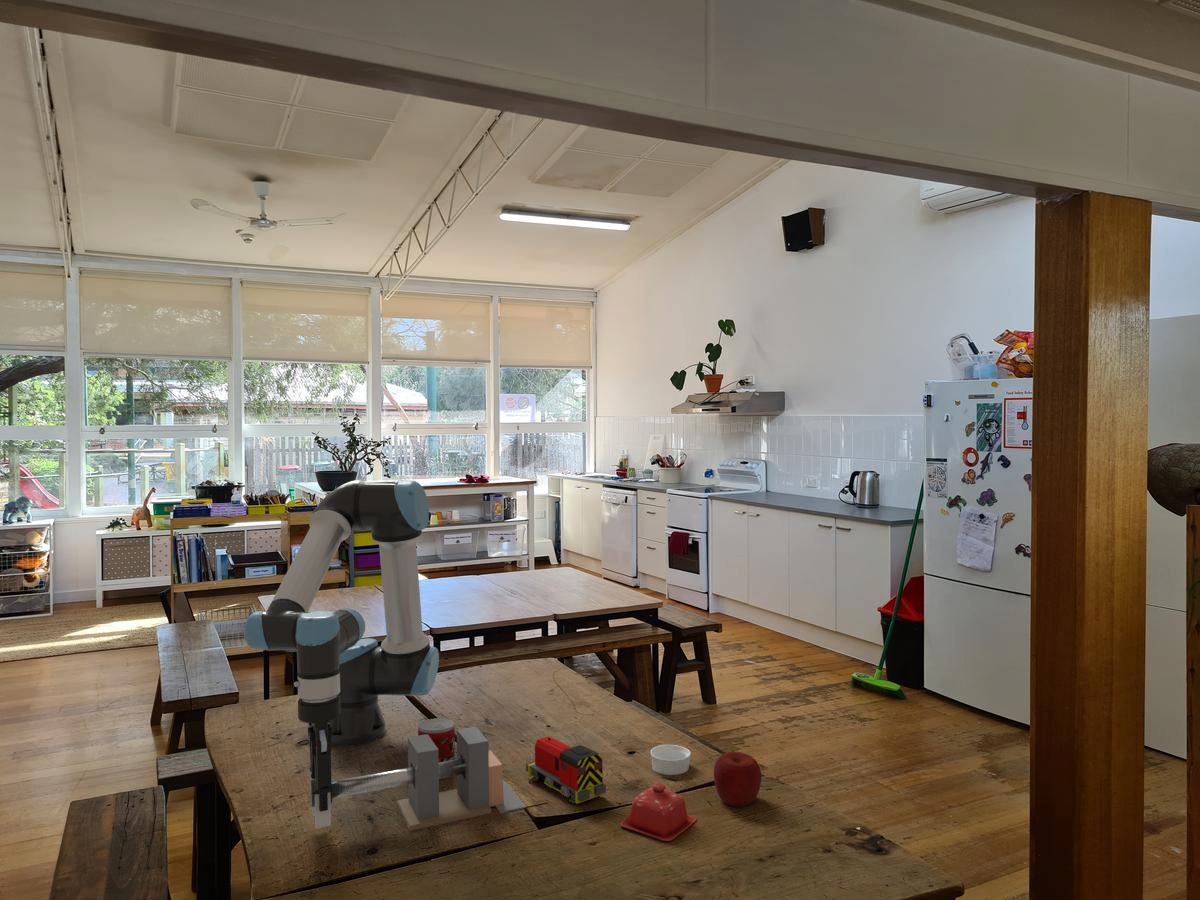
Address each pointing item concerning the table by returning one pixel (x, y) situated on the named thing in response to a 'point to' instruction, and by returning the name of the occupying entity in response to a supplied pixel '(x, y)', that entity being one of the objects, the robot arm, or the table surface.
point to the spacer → (495, 781)
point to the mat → (510, 800)
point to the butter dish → (658, 814)
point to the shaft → (386, 780)
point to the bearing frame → (424, 794)
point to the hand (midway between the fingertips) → (321, 819)
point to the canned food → (440, 736)
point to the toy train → (568, 769)
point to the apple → (737, 778)
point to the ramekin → (670, 759)
